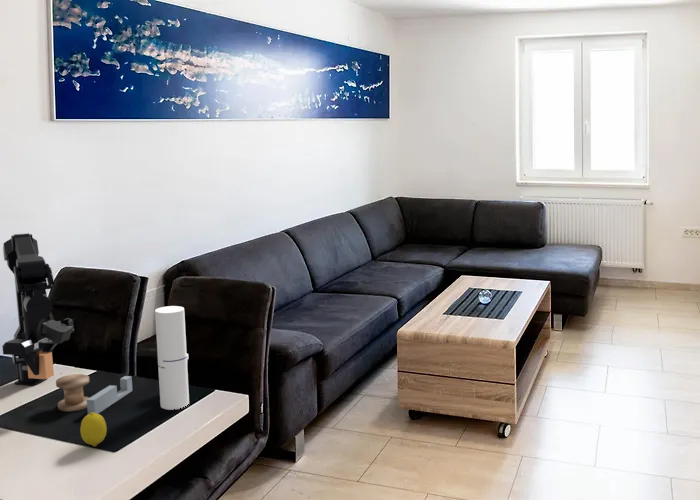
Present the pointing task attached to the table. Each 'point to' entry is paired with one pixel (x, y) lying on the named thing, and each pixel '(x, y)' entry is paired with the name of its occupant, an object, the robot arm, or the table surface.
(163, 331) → the cylindrical container
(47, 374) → the orange block
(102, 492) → the table surface
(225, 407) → the table surface
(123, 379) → the notch board
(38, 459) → the table surface
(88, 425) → the lemon
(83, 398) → the bobbin
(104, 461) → the table surface
